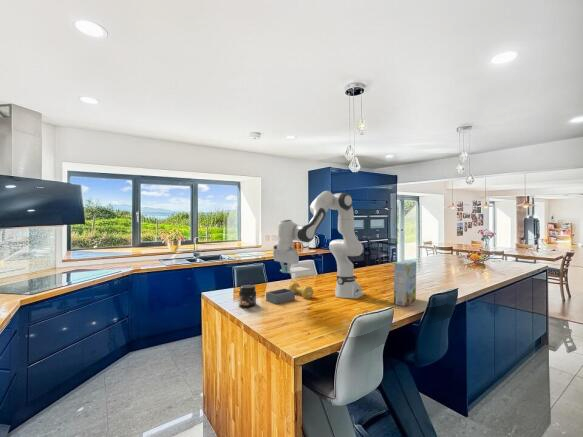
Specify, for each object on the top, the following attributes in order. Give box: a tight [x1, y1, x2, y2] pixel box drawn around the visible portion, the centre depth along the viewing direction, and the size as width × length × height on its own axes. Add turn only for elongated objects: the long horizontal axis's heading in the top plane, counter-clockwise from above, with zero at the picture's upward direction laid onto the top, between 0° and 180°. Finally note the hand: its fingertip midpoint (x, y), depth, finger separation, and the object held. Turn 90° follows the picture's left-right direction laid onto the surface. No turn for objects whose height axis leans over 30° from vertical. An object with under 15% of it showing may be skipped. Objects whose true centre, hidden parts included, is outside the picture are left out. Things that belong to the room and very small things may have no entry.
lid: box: [279, 264, 312, 274], centre depth 177 cm, size 18×10×4 cm, turn 130°
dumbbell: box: [288, 282, 314, 299], centre depth 200 cm, size 19×9×8 cm, turn 36°
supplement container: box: [238, 284, 257, 309], centre depth 177 cm, size 10×10×12 cm
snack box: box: [393, 259, 417, 307], centre depth 185 cm, size 22×9×26 cm, turn 143°
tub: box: [265, 288, 296, 305], centre depth 188 cm, size 16×10×6 cm, turn 131°
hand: (285, 269), depth 173 cm, fingers closed on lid, 3 cm apart
